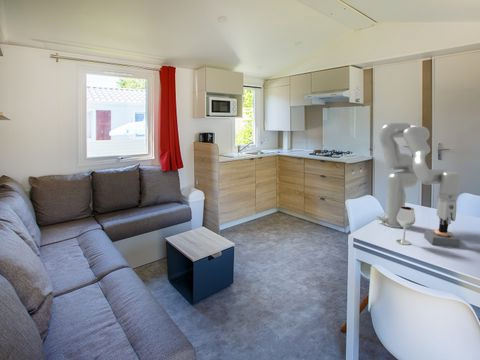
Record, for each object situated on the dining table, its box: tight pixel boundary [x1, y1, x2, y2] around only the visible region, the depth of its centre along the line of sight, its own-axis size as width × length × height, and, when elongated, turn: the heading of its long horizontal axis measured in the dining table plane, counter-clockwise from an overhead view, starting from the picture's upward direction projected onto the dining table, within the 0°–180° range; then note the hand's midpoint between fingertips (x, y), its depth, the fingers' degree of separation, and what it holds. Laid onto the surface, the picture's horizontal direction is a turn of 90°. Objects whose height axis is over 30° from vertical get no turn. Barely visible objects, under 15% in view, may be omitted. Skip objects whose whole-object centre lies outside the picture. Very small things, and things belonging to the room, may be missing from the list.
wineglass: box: [396, 206, 416, 246], centre depth 148 cm, size 8×8×18 cm
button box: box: [423, 229, 461, 248], centre depth 150 cm, size 12×10×4 cm
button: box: [433, 228, 452, 237], centre depth 150 cm, size 7×7×5 cm
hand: (442, 231), depth 149 cm, fingers closed
